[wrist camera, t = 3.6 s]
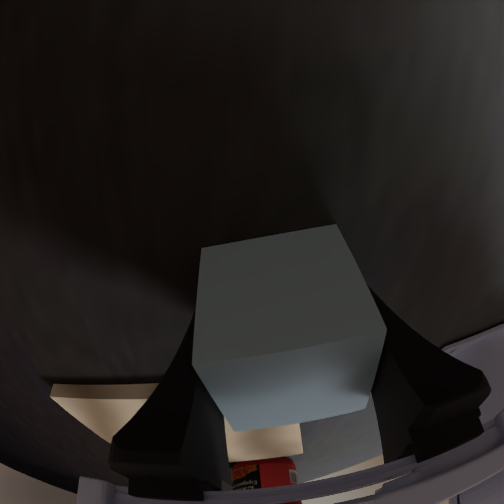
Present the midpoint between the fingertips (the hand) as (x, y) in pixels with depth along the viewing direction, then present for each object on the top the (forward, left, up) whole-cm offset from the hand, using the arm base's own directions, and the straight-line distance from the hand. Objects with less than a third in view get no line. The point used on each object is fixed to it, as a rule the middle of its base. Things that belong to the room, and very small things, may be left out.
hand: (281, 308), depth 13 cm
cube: (0, 0, -1) cm, 1 cm away
